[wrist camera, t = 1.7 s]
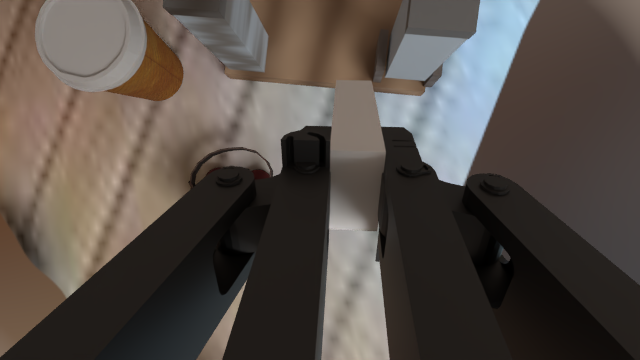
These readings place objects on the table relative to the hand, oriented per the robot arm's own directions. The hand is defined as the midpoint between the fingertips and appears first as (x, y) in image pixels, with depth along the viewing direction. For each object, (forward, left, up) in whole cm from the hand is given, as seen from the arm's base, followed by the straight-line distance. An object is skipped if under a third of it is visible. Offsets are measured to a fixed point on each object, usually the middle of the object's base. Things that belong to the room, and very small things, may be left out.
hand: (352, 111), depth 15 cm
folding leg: (-4, +10, -20) cm, 23 cm away
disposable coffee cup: (-22, -12, -25) cm, 35 cm away
